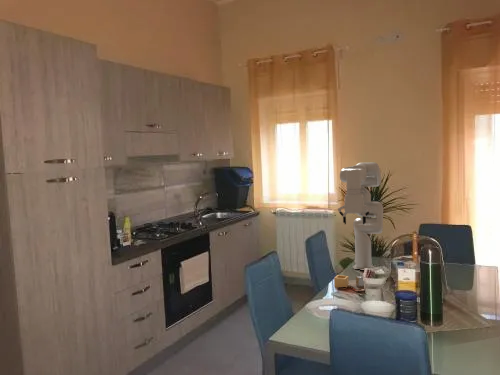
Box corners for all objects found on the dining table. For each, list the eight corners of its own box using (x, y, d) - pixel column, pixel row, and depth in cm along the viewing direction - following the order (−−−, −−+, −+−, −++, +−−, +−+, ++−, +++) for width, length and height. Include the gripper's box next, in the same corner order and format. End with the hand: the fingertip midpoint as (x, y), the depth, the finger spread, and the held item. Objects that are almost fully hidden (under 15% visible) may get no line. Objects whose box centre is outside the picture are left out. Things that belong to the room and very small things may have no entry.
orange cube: (334, 286, 215) (334, 277, 215) (338, 283, 221) (337, 274, 220) (345, 288, 212) (345, 279, 212) (348, 285, 218) (348, 276, 217)
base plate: (349, 287, 213) (349, 284, 213) (362, 285, 215) (362, 283, 215) (357, 292, 205) (357, 289, 205) (371, 290, 207) (371, 287, 207)
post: (356, 285, 211) (355, 276, 211) (361, 285, 212) (360, 275, 212) (358, 287, 208) (358, 278, 208) (364, 286, 209) (363, 277, 209)
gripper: (370, 191, 216) (370, 223, 216) (337, 192, 220) (338, 223, 221) (371, 192, 208) (371, 225, 209) (337, 192, 213) (337, 225, 213)
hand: (354, 224), depth 215 cm, fingers open, 9 cm apart
